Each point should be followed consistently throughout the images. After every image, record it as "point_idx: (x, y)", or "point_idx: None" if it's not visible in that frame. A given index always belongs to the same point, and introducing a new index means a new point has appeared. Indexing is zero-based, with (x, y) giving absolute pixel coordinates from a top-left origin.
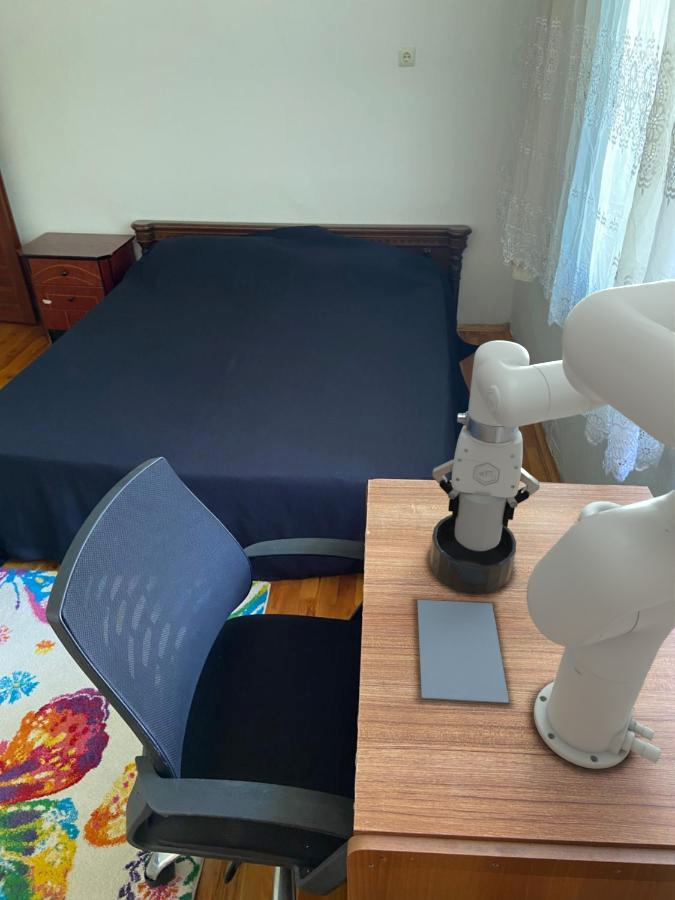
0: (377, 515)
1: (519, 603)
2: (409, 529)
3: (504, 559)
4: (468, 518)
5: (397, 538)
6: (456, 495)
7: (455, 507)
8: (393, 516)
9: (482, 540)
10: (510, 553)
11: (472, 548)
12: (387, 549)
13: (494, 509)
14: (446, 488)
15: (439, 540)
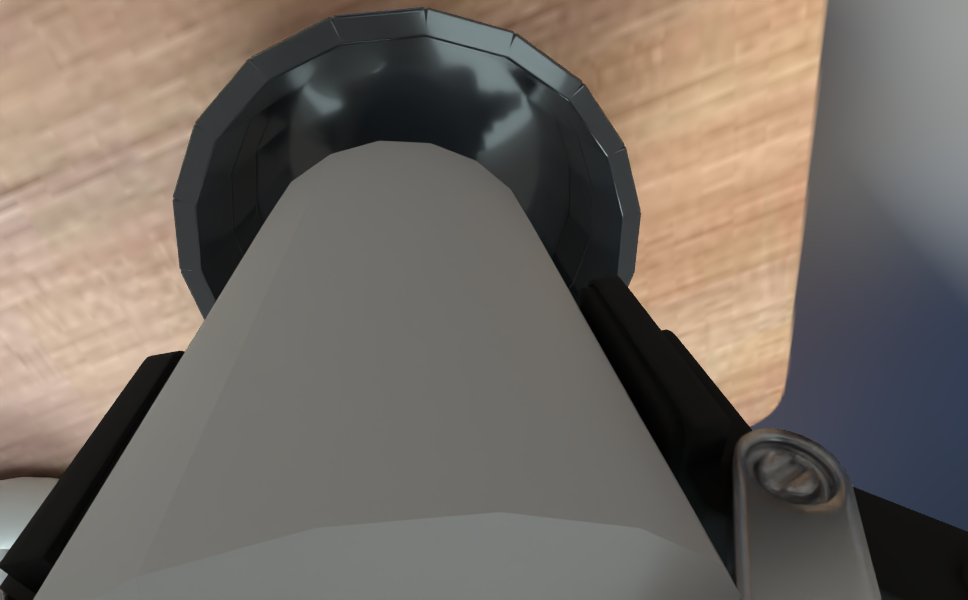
0: (781, 311)
1: (128, 43)
2: (670, 292)
3: (202, 177)
4: (488, 270)
5: (712, 234)
6: (742, 501)
7: (652, 359)
8: (726, 327)
9: (326, 182)
10: (194, 239)
11: (397, 143)
12: (751, 161)
13: (117, 482)
14: (919, 558)
15: (570, 258)
